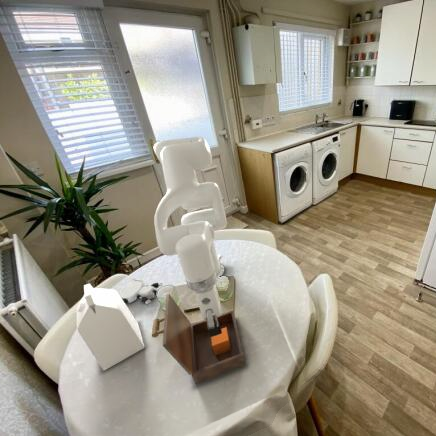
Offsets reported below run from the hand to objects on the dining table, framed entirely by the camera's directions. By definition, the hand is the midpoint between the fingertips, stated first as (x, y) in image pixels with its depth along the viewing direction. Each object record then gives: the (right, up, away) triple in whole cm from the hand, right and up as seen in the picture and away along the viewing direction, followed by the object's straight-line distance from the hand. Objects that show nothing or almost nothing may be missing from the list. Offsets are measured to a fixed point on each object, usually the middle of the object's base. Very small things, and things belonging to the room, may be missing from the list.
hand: (214, 321), depth 72 cm
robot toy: (-40, -2, +28) cm, 49 cm away
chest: (-1, -12, +6) cm, 14 cm away
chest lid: (-9, -2, -3) cm, 10 cm away
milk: (-34, -12, +9) cm, 37 cm away
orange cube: (0, -11, +7) cm, 13 cm away
